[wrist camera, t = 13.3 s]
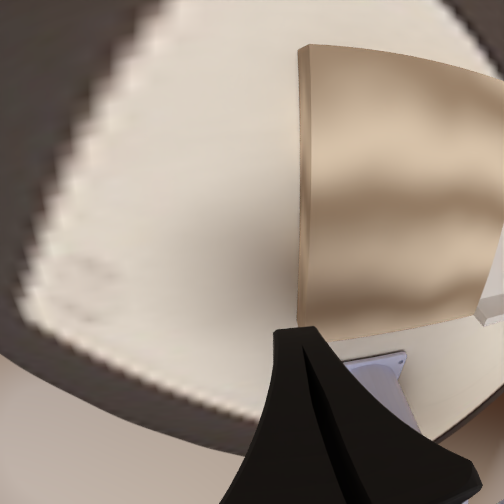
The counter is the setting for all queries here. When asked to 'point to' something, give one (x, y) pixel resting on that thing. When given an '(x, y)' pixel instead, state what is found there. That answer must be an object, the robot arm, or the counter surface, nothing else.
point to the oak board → (395, 190)
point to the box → (493, 290)
